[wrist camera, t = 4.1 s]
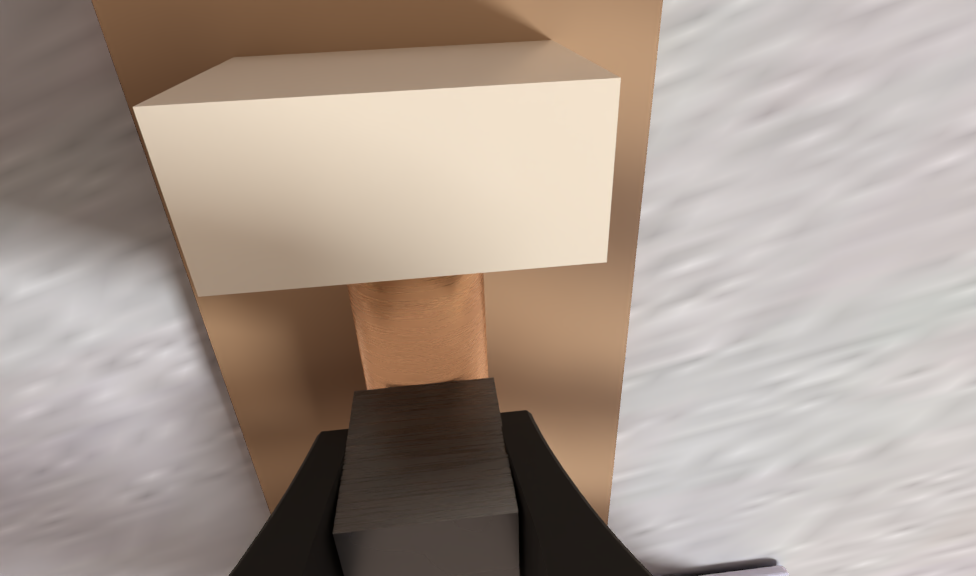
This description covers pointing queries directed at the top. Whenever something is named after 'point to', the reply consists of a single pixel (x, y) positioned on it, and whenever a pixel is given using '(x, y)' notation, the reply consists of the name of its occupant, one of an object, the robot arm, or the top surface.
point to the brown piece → (425, 438)
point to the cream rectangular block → (386, 164)
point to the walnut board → (508, 294)
